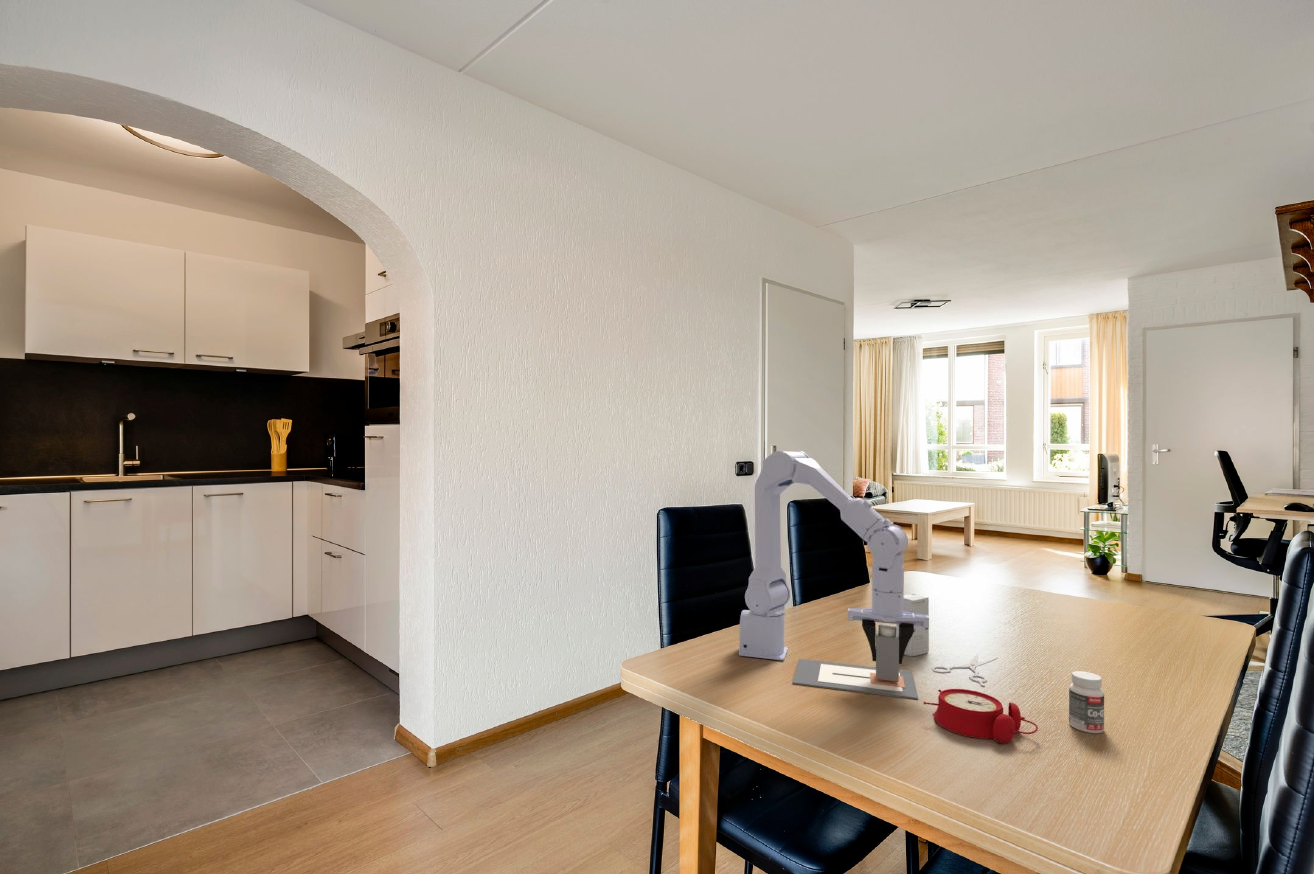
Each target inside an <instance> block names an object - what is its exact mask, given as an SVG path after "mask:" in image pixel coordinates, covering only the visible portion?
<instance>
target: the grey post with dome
mask: <svg viewBox="0 0 1314 874" xmlns="http://www.w3.org/2000/svg"><path fill="white" fill-rule="evenodd" d="M875 645H876V661H875V667H876V679H881V680H890V681H898V682H899V670H900V664H899V635H898V633H896V626H895V625H894V624H893V625H892V624H889V623H881V624H879V625H878V630H876V643H875Z"/></svg>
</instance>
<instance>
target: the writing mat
mask: <svg viewBox="0 0 1314 874" xmlns="http://www.w3.org/2000/svg"><path fill="white" fill-rule="evenodd" d="M792 685H798V686H807V687H814V688H824V689H831V690H839V691H848V692H855V693H863V694H871V695H879V696H888V697H897V698H904V699H911V700H919V695H918V691H917V687H916V681H915V677H914V673H913V671H912V670H902V669H899V682H898V681H890V680H881V679H876V666H875V667H874V666H869V665H868V666H866V665H857V664H851V663H850V664H849V663H841V662H831V661H822V660H813V659H806V658H805V659H803V658H799V659H798V662H797V666H796V670H795V673H794V676H793V679H792Z"/></svg>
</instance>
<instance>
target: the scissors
mask: <svg viewBox="0 0 1314 874" xmlns="http://www.w3.org/2000/svg"><path fill="white" fill-rule="evenodd" d="M997 659H998V657H996V658H992V659H988V660H984V661H980V662H979V661H978V653H977V654H976V655H974V657H973V658H972V659H971V661H970V662H969V663H966V664H963V665H959V666H955V665H953V666H933V667H932V668H931V670H932V672H933V673H934V672H935V673H938V674H949V673H951V672H952V670H956V669H958V670H959V669H962V670H963V669H966V670H967V669H969V670H970V671H972V672H973V673H974V674H969V675H968V679H969V680H971V681H973V682H974V683H975V682H976V683H978V684H979V685H980V686H981V687H983V688H985V687H986V685H985V684H984V683H987V682H988V678H987V677H986V676H984V675H981V674H980V672H979V671H978V670H976V668H977V667H979V666H980V667H981V666H983V665H985V664H988V663H991V662H992V661H995V660H997ZM937 669H938V670H937ZM939 669H943V670H942V671H941V670H939ZM976 678H979V680H978V679H976ZM981 679H983V680H981Z"/></svg>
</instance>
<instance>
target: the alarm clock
mask: <svg viewBox="0 0 1314 874" xmlns="http://www.w3.org/2000/svg"><path fill="white" fill-rule="evenodd" d="M937 691H938V693H939V694H938V696H937V697H938V698H937V700H938V702H936V703H934V702H926V701H923V705H930V706H931V705H932V706H937V708H936V710H935V711H934V713H932V716H933V719H934V721H935V722H936V723H937V725H939V726H941V727H942V728H944V729H945V730H948V731H950V732H952V733H955V734H958V735H961V736H965V737H968V738H969V737H970V738H977V739H994V741H995V742H996V743H999V744H1001V745H1004V744H1009V743H1010V742H1011V741H1012V740H1013V738H1014V737H1015V735H1016V733H1018V734H1022V735H1023V734H1024V735H1032V734H1035V733H1037V732H1038V730H1039V726H1038V725H1037V724H1036V723H1034V722H1033V721H1030V720H1028V719H1026V718H1025V717H1024V716H1022V715H1021V709H1020V708H1019V706H1018V705H1017V704H1016V703H1014V702H1009V703H1008V711H1007V713H1006V714H1005V713H1004V707H1003V703H1002V702H1001V701H1000V700H998V699H997V698H996V697H994V696H992V695H989V694H986V693H983V692H980V691H976V690H972V689H964V688H949V689H944V690H942V689H938V690H937ZM1022 722H1025V723H1029V724H1030V725H1033V726H1035V729H1034V730H1033V731H1027V732H1026V731H1019V730H1020V729H1021V724H1022Z"/></svg>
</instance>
